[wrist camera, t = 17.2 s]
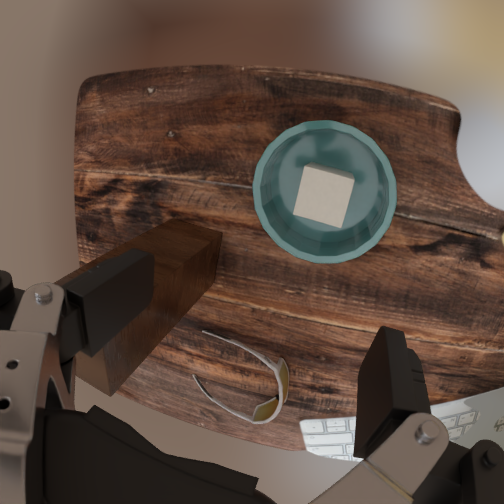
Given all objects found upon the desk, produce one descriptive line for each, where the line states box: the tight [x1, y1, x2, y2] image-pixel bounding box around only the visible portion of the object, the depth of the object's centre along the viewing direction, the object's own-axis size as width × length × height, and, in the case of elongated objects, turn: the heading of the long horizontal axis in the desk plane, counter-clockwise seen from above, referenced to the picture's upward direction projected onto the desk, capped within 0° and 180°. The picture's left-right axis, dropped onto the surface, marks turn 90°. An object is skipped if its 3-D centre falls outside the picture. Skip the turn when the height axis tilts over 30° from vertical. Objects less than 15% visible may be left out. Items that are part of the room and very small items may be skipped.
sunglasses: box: [192, 330, 289, 424], centre depth 43 cm, size 14×15×5 cm
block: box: [293, 162, 355, 228], centre depth 29 cm, size 4×4×6 cm
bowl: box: [252, 120, 397, 263], centre depth 30 cm, size 14×14×5 cm
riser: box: [54, 219, 222, 397], centre depth 30 cm, size 7×7×22 cm
